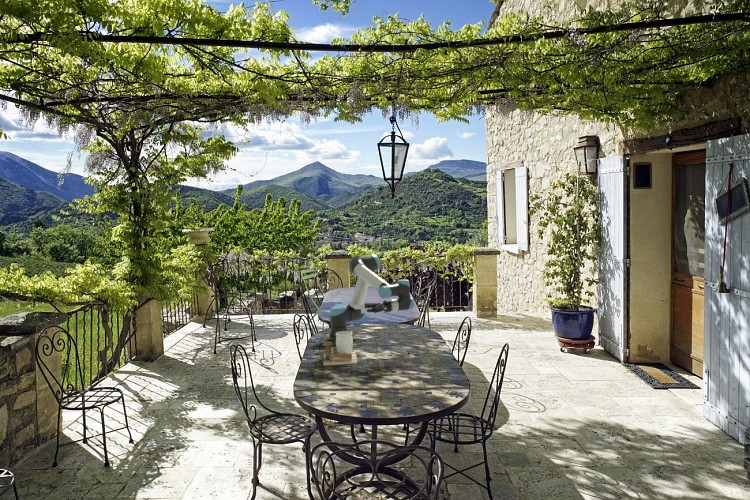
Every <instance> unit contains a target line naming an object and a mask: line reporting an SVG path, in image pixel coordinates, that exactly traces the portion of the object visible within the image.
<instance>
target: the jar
mask: <svg viewBox="0 0 750 500" xmlns="http://www.w3.org/2000/svg"><path fill="white" fill-rule="evenodd" d="M336 336H337V337H336V341H335V347H337V351H338V353H339V354H343V353H351V352H353V346H354V341H353V331H351V330H350V331H349V330H348V331H340V332H337V333H336Z"/></svg>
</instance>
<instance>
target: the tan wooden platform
mask: <svg viewBox="0 0 750 500" xmlns="http://www.w3.org/2000/svg"><path fill="white" fill-rule="evenodd" d="M333 342H334V341H324V342H322V346H323V347H324V353H323V362H322V363H323V366H325V367H326V366H337V365H338V366H339V365H351V364H353V365H354V364H355V365H356V364H358V359H357V351H352V352H351V353H343V354H339V353H338V351H337V346H333V345H334V344H333Z"/></svg>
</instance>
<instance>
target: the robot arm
mask: <svg viewBox="0 0 750 500" xmlns="http://www.w3.org/2000/svg"><path fill="white" fill-rule="evenodd" d="M348 268H349V271H350V272H351V273H352V274H353V275H354V276H355V277H357V279H356V283H355V288H354V290H353V295H352V298H351V299H350V300H349V301H348V305H345V304H336V305H333V306H331V307H330V309H329V316H330V317H329V319H330V321H329V322H330V329H329V332H328V333H329V334H328V340H329V341H330V342H336V337H337V336H336V333H337V332H340V331H349V328H348V323H351V322H357V321H361V320H363V319H364V318H365V317H366V315H367V314H369V313H374V314H376V313H381V312H384V313H390V312H394V313H396V312H399V311H409V310H413V309H414V307H415V299H414V298H413V297H411V284H410V280H409V279H403V278H402V279H399V280H397V283H393V284H390V283H388V282H387V281H385V280H384V279H383V278H381V277H380V276H378V274H376V272H377V271H378V270H380V268H381V260H380V258H379V256H377V255H376V254H374V253H368V254H361V255H355V256H352V258H350V261H349V264H348ZM369 285H370V286H371V287H373V288H374V289H375V290H376V291H377V292H378V295H379V297H380V298H381V299H383V301H382V303H380V302H369V303H368V302H367V303H366V302H364V301H365V298H366V295H367V292H368V288H369ZM394 297H397V298H394ZM389 298H392V299H389ZM385 299H386V300H385Z"/></svg>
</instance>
